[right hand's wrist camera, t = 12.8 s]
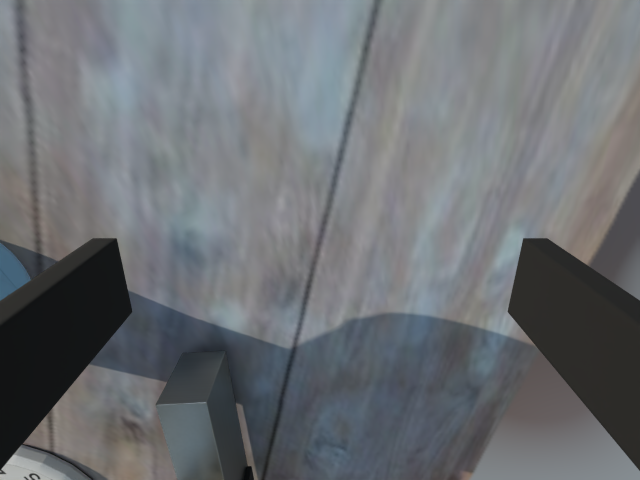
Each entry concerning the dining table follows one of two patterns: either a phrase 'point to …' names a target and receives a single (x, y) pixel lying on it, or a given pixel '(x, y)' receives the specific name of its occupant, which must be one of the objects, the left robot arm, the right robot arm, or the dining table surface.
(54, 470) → the wall clock
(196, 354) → the bar
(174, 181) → the dining table surface
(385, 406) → the dining table surface
